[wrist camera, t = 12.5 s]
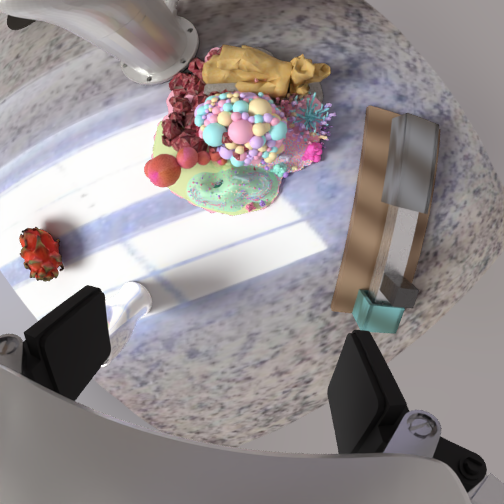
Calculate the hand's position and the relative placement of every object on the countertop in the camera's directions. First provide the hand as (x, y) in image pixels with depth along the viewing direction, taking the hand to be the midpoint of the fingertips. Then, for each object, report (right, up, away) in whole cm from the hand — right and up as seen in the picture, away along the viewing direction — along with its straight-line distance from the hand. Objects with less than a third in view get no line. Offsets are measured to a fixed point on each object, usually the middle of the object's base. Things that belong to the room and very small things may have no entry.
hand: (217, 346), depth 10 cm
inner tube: (+20, +4, +27) cm, 34 cm away
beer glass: (-18, -4, +34) cm, 39 cm away
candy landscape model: (0, +20, +26) cm, 33 cm away
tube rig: (+21, +8, +28) cm, 36 cm away
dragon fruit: (-36, +4, +33) cm, 49 cm away
